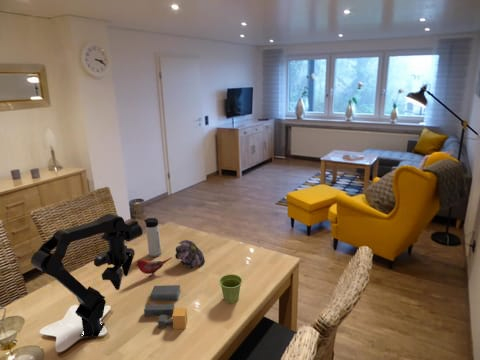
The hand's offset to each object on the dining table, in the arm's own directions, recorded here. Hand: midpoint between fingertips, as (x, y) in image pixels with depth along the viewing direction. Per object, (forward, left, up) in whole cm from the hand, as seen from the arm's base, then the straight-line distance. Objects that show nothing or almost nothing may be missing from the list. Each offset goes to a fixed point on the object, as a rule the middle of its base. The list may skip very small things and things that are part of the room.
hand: (122, 282), depth 130 cm
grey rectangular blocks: (+3, -14, -12) cm, 19 cm away
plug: (-10, -21, -12) cm, 26 cm away
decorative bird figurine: (+24, -6, -12) cm, 28 cm away
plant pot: (+5, -42, -12) cm, 44 cm away
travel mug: (+43, -1, -12) cm, 45 cm away
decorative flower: (+34, -21, -12) cm, 42 cm away
